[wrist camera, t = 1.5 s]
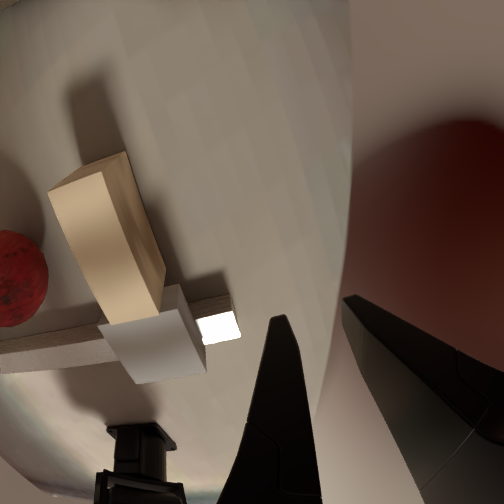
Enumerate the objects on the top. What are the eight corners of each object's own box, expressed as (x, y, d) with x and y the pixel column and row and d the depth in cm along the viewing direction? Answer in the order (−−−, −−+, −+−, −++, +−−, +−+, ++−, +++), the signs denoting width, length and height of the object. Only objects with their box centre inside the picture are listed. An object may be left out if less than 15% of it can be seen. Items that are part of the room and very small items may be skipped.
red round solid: (51, 205, 17) (-13, 271, 10) (73, 281, 20) (34, 363, 13) (-10, 217, 16) (-75, 277, 10) (14, 285, 19) (-32, 357, 12)
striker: (204, 326, 23) (206, 374, 19) (142, 339, 23) (136, 386, 19) (141, 145, 16) (121, 164, 12) (67, 172, 16) (31, 198, 12)
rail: (237, 318, 23) (240, 336, 22) (-29, 363, 22) (-36, 375, 21) (229, 293, 22) (232, 311, 20) (-41, 347, 21) (-48, 359, 20)
